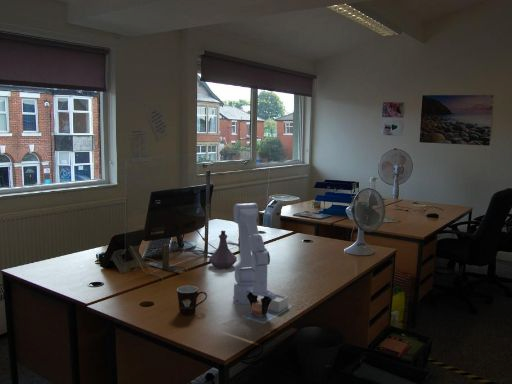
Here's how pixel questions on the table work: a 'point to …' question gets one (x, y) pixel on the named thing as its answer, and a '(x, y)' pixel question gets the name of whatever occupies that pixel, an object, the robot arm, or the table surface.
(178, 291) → the coffee mug
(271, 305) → the socket pedestal
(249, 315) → the board
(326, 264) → the table surface
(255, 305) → the terracotta block
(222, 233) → the flask
